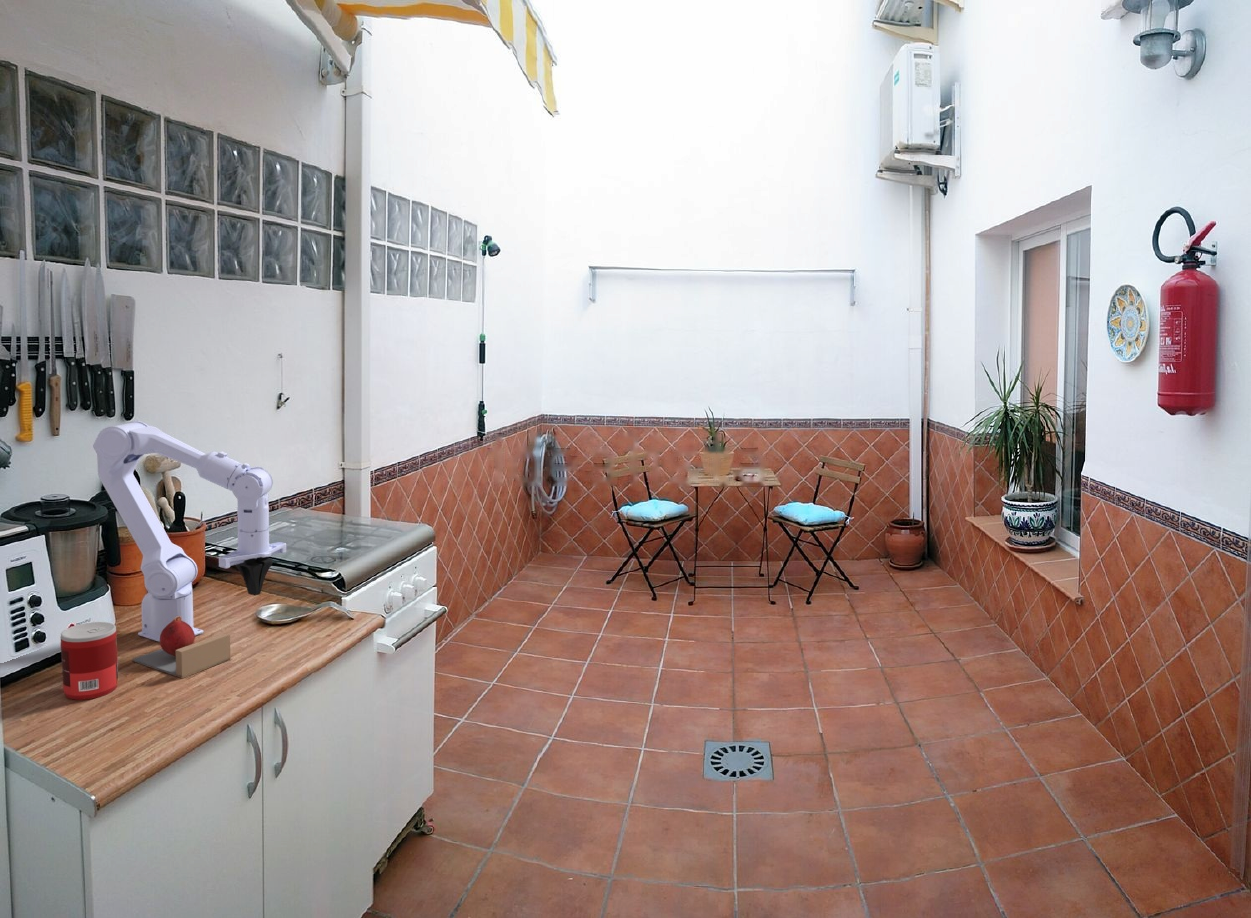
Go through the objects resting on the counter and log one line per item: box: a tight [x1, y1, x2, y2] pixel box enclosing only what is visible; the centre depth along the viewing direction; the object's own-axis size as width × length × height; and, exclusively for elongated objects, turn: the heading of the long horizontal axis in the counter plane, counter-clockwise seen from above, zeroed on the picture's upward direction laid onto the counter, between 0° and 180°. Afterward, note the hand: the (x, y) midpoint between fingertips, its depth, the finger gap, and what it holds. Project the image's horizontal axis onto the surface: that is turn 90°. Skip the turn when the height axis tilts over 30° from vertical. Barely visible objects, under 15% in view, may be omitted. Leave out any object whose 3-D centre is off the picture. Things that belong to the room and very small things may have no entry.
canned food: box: [60, 621, 119, 701], centre depth 139 cm, size 8×8×11 cm
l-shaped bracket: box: [132, 632, 231, 679], centre depth 153 cm, size 14×10×5 cm
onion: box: [159, 616, 196, 657], centre depth 153 cm, size 6×6×8 cm
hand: (254, 593), depth 164 cm, fingers closed
